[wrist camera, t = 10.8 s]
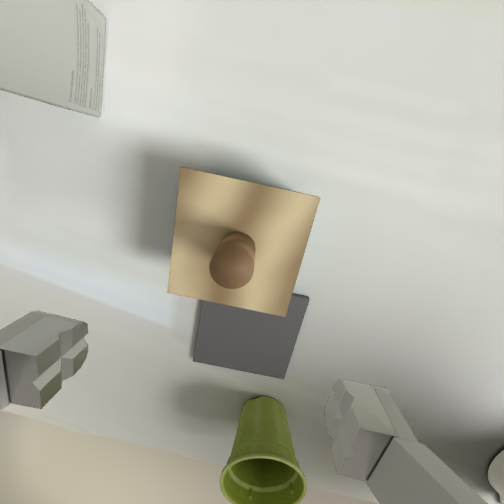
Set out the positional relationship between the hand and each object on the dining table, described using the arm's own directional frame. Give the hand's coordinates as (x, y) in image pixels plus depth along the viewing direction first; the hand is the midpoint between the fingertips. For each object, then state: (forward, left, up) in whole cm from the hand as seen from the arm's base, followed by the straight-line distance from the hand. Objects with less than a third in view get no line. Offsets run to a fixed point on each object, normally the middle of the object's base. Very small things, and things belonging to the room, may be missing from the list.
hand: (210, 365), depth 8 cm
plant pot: (-7, +25, -19) cm, 33 cm away
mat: (-3, +12, -19) cm, 23 cm away
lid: (0, 0, -14) cm, 14 cm away
